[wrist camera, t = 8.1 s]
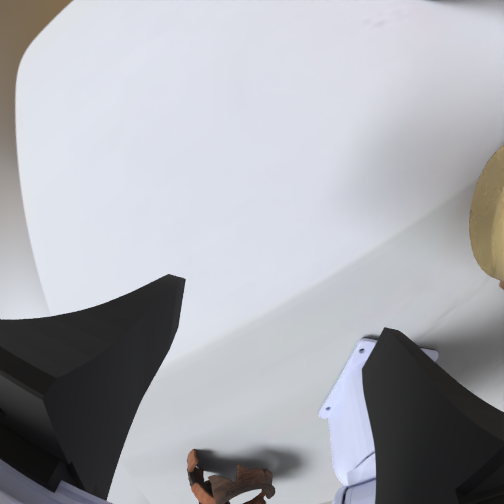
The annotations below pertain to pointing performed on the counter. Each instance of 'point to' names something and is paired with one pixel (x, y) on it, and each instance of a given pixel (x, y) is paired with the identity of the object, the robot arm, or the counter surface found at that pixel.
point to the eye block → (502, 284)
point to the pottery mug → (228, 484)
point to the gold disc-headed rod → (489, 218)
